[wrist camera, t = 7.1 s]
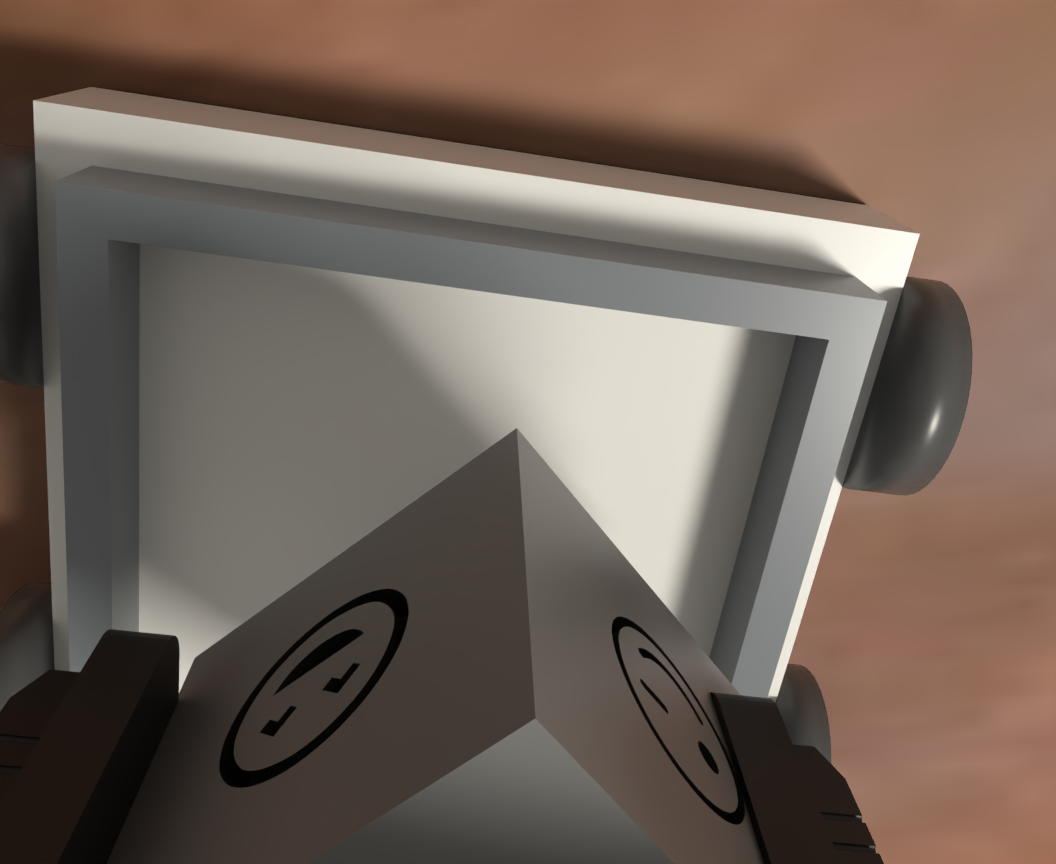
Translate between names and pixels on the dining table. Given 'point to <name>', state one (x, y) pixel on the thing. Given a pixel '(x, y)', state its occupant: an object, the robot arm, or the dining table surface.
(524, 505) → the dice cube
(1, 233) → the toy car chassis
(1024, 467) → the dining table surface
